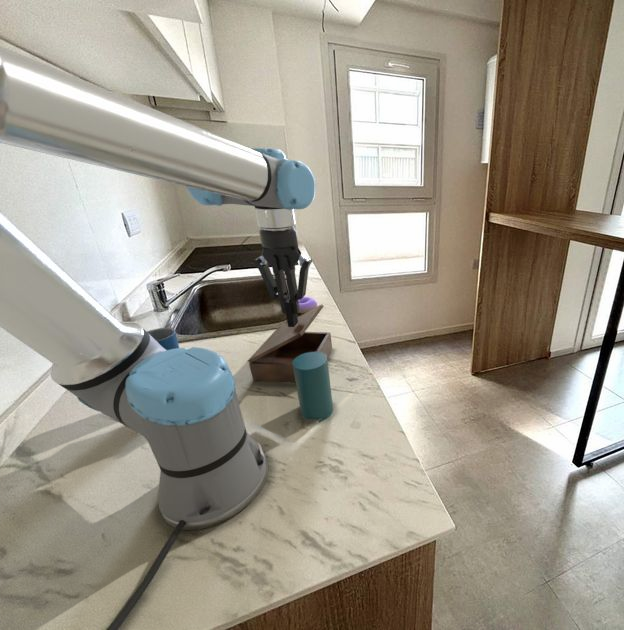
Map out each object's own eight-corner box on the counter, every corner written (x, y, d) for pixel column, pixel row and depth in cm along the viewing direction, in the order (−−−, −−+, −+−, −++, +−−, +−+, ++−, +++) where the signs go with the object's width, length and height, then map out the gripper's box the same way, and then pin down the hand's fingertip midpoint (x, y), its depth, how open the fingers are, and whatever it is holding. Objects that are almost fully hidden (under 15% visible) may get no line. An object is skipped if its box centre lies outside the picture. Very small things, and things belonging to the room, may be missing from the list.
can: (318, 426, 67) (310, 373, 62) (294, 416, 70) (285, 364, 64) (339, 407, 72) (334, 356, 67) (316, 398, 75) (309, 348, 70)
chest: (332, 350, 94) (330, 332, 92) (313, 385, 79) (311, 365, 77) (281, 348, 94) (278, 330, 92) (253, 384, 79) (248, 363, 77)
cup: (151, 395, 75) (128, 337, 68) (183, 380, 80) (164, 325, 74) (168, 405, 72) (146, 346, 66) (200, 388, 77) (181, 332, 71)
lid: (323, 306, 88) (322, 304, 88) (302, 335, 73) (299, 333, 73) (279, 330, 92) (277, 328, 92) (249, 363, 77) (247, 360, 77)
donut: (312, 301, 126) (311, 290, 123) (321, 314, 120) (320, 303, 117) (285, 306, 121) (284, 295, 118) (292, 320, 115) (291, 309, 112)
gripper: (312, 225, 75) (323, 318, 85) (256, 224, 75) (273, 317, 85) (301, 231, 68) (314, 332, 78) (238, 230, 69) (260, 330, 78)
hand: (293, 324), depth 82 cm, fingers closed
